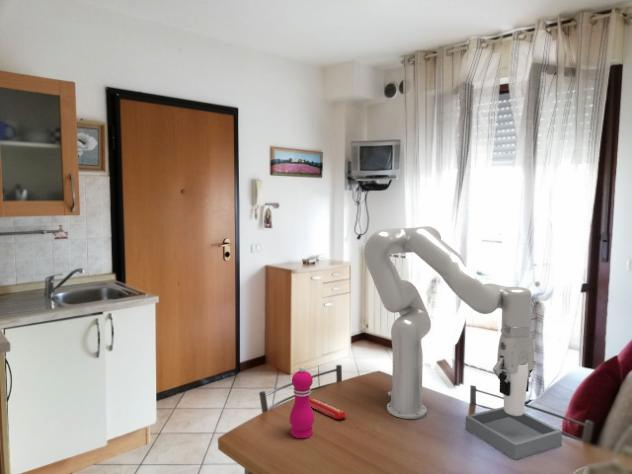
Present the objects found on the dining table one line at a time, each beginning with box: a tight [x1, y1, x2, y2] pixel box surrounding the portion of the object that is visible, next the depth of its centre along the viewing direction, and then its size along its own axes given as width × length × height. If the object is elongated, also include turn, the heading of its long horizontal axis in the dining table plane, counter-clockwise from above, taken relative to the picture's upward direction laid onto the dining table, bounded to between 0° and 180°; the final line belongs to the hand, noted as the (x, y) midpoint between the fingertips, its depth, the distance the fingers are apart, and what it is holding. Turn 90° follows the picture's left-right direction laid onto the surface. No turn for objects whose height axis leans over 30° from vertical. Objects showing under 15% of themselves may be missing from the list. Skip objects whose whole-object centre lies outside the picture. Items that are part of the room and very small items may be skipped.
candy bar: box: [309, 398, 347, 420], centre depth 142 cm, size 16×4×3 cm, turn 45°
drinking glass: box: [502, 364, 528, 416], centre depth 127 cm, size 7×7×15 cm
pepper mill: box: [289, 366, 315, 439], centre depth 128 cm, size 7×7×20 cm
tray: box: [464, 406, 563, 461], centre depth 128 cm, size 18×18×4 cm
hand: (514, 391), depth 127 cm, fingers closed on drinking glass, 6 cm apart
